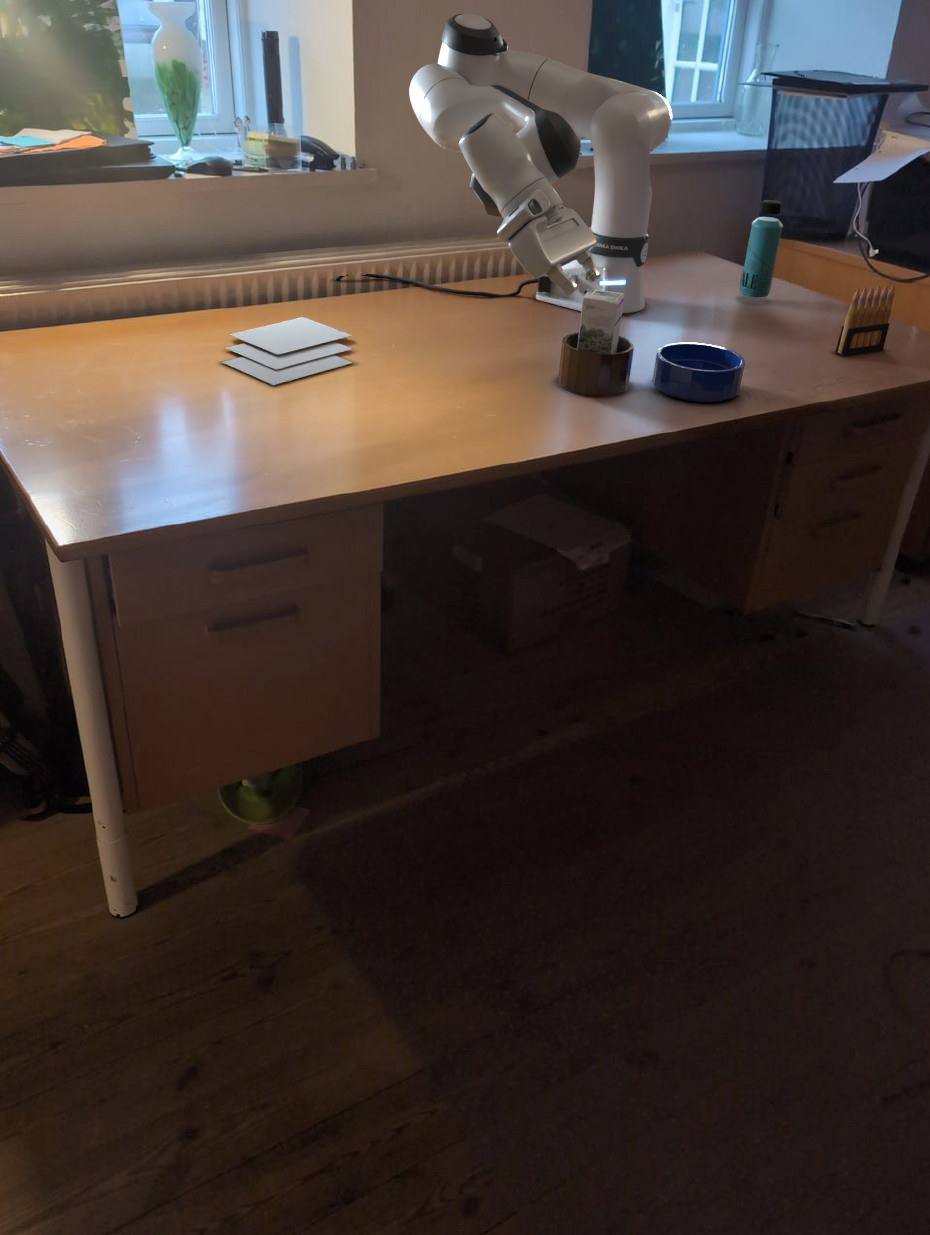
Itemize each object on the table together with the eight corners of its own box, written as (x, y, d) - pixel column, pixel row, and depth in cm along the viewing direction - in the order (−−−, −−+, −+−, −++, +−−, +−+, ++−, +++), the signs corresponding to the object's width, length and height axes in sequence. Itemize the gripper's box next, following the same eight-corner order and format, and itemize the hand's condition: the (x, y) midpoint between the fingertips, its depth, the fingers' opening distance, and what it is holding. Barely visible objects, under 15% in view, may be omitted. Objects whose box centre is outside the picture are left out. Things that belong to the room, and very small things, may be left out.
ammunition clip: (841, 356, 186) (858, 290, 179) (834, 353, 187) (850, 287, 180) (883, 350, 190) (901, 285, 183) (875, 347, 191) (893, 282, 185)
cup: (547, 387, 165) (551, 345, 161) (574, 367, 174) (579, 327, 170) (613, 402, 160) (618, 359, 157) (638, 381, 169) (644, 340, 165)
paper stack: (388, 352, 175) (388, 348, 175) (273, 385, 159) (273, 381, 159) (303, 320, 188) (302, 316, 188) (188, 347, 172) (188, 343, 172)
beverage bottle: (770, 299, 216) (791, 200, 205) (764, 306, 211) (785, 205, 200) (740, 294, 218) (759, 196, 207) (733, 301, 213) (752, 201, 202)
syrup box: (614, 379, 168) (625, 291, 161) (606, 390, 164) (617, 301, 156) (580, 374, 170) (590, 286, 162) (572, 385, 165) (582, 296, 157)
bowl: (640, 392, 165) (644, 359, 162) (667, 368, 175) (672, 337, 172) (724, 411, 159) (731, 377, 156) (748, 385, 170) (754, 353, 167)
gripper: (547, 214, 168) (595, 283, 170) (491, 236, 153) (544, 312, 154) (575, 189, 164) (623, 260, 165) (520, 209, 149) (574, 287, 150)
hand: (584, 286), depth 160 cm, fingers open, 8 cm apart
